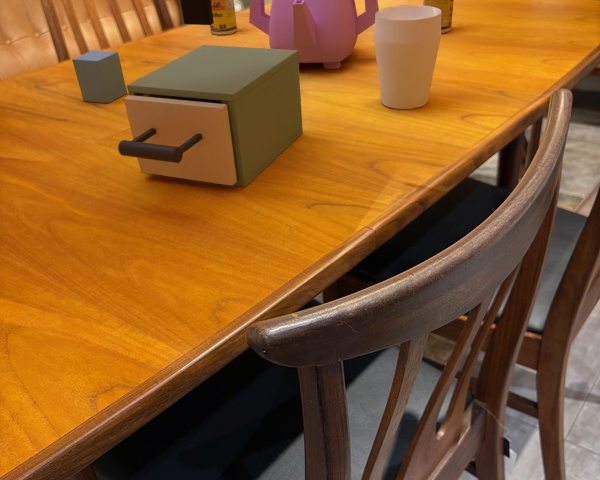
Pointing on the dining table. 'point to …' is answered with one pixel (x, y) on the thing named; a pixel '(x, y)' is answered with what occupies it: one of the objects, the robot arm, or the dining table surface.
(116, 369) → the dining table surface
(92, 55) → the block
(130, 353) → the dining table surface
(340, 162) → the dining table surface
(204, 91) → the cabinet
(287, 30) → the teapot
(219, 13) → the supplement bottle
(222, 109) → the drawer
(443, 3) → the supplement bottle
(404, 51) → the cup
